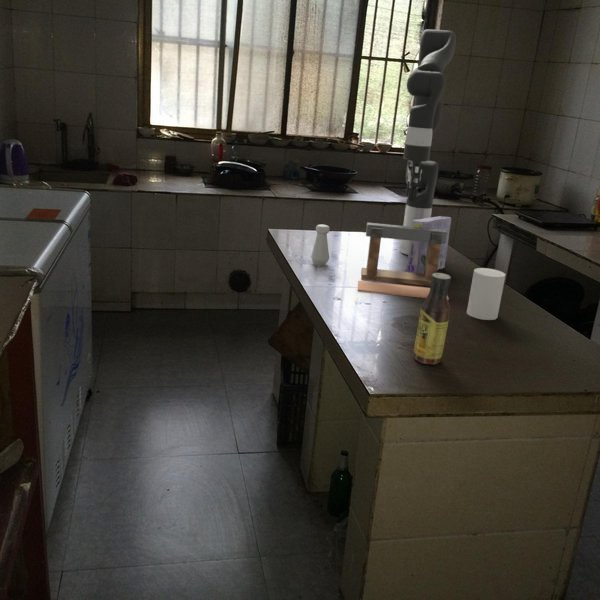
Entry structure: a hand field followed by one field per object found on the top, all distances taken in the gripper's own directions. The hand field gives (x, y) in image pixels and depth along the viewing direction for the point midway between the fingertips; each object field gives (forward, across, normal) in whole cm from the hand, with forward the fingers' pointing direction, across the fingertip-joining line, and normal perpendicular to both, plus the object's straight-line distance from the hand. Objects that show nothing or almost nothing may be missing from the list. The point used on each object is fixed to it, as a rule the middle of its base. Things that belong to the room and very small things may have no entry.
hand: (410, 198), depth 194 cm
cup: (+26, -26, -21) cm, 42 cm away
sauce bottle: (+26, -62, -2) cm, 67 cm away
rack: (+25, 0, 0) cm, 25 cm away
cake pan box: (+26, +14, -10) cm, 30 cm away
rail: (+12, 0, 0) cm, 12 cm away
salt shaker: (+26, +8, +26) cm, 37 cm away
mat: (+25, -12, 0) cm, 28 cm away
